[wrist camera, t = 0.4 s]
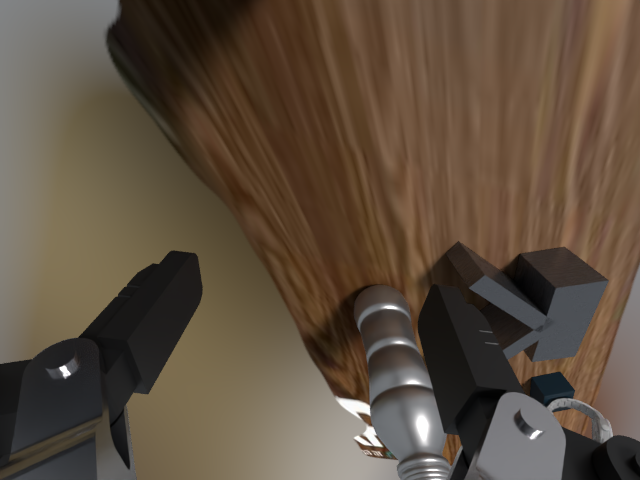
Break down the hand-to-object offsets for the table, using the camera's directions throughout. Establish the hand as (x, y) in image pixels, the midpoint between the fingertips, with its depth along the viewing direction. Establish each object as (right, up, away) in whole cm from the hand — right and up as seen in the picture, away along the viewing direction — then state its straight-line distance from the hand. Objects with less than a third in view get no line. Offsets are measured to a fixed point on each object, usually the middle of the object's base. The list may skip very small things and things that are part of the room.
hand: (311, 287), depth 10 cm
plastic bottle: (+8, -6, +28) cm, 29 cm away
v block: (+23, -5, +28) cm, 36 cm away
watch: (+38, -22, +39) cm, 58 cm away
